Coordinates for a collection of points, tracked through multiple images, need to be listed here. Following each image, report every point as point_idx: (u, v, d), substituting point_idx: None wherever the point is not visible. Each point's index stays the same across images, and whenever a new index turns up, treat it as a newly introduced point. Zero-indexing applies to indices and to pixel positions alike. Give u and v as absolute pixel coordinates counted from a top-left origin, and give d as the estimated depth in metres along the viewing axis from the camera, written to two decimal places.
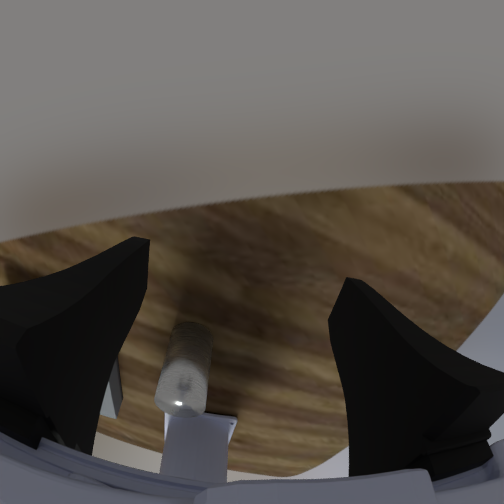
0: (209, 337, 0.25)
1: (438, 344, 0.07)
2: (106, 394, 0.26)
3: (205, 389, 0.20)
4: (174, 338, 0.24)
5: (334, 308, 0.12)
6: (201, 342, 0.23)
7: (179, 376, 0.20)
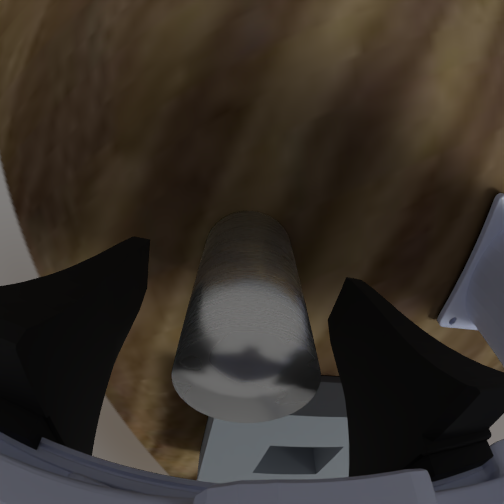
0: (227, 221, 0.12)
1: (438, 344, 0.07)
2: None
3: (229, 298, 0.07)
4: None
5: (334, 308, 0.12)
6: (208, 247, 0.11)
7: None
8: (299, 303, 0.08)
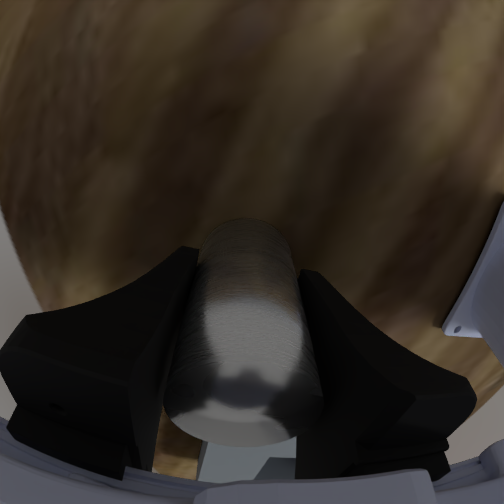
0: (223, 230, 0.11)
1: (387, 340, 0.07)
2: None
3: (224, 321, 0.07)
4: None
5: None
6: (202, 258, 0.10)
7: None
8: (301, 323, 0.07)
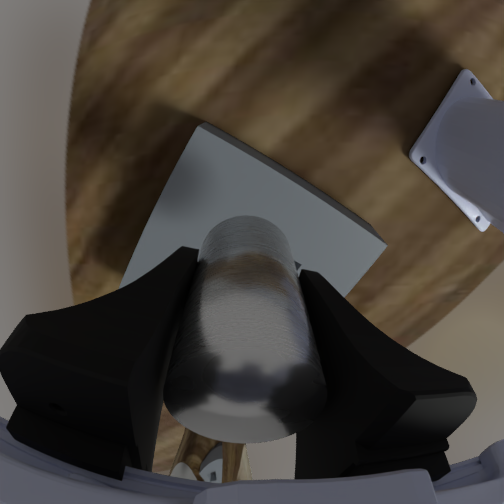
0: (221, 227, 0.11)
1: (387, 340, 0.07)
2: (320, 210, 0.16)
3: (222, 311, 0.07)
4: None
5: None
6: (202, 255, 0.10)
7: None
8: (301, 313, 0.07)
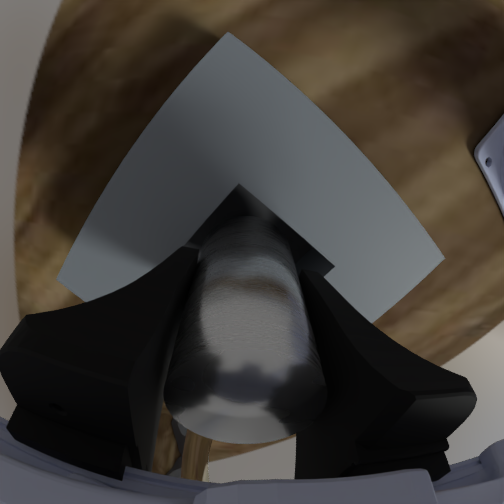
0: (221, 228, 0.11)
1: (387, 340, 0.07)
2: (378, 192, 0.10)
3: (222, 311, 0.07)
4: None
5: None
6: (202, 256, 0.10)
7: None
8: (301, 313, 0.07)
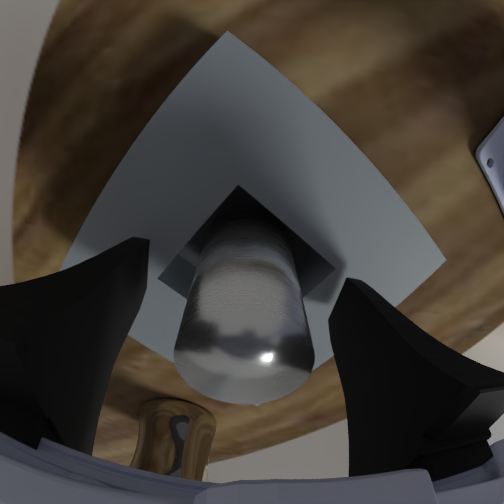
0: (225, 215, 0.13)
1: (438, 344, 0.07)
2: (380, 193, 0.10)
3: (225, 282, 0.08)
4: None
5: (334, 308, 0.12)
6: (207, 239, 0.12)
7: None
8: (293, 286, 0.09)
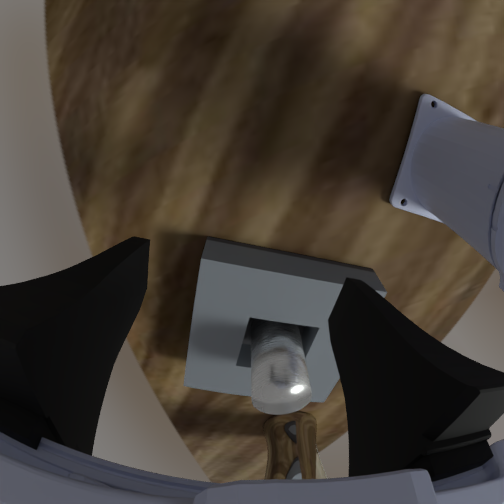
0: (254, 320, 0.22)
1: (438, 344, 0.07)
2: (321, 287, 0.19)
3: (261, 371, 0.18)
4: None
5: (334, 308, 0.12)
6: (250, 339, 0.22)
7: None
8: (291, 358, 0.18)
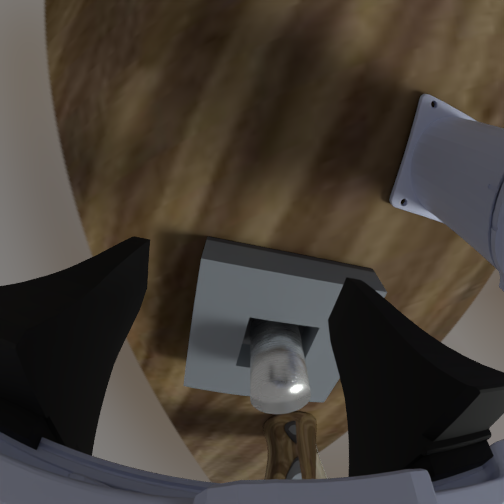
0: (254, 320, 0.22)
1: (438, 344, 0.07)
2: (321, 287, 0.19)
3: (260, 370, 0.18)
4: None
5: (334, 308, 0.12)
6: (250, 339, 0.22)
7: None
8: (290, 357, 0.18)
